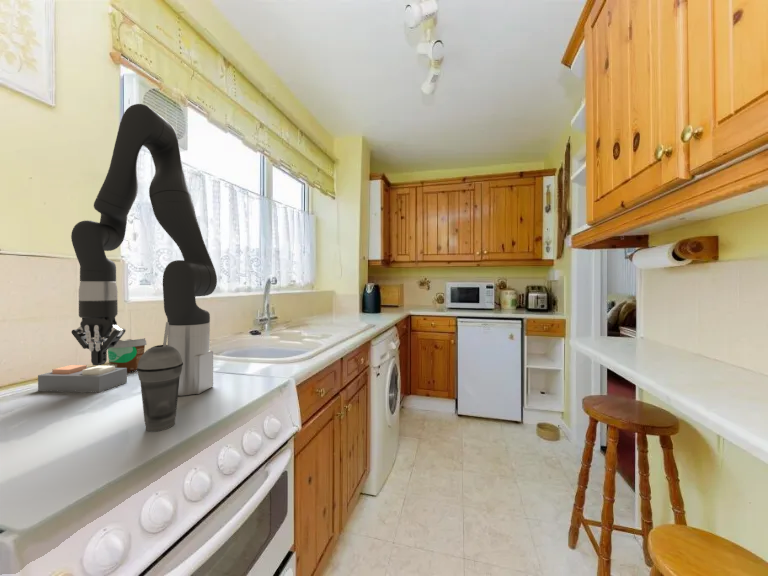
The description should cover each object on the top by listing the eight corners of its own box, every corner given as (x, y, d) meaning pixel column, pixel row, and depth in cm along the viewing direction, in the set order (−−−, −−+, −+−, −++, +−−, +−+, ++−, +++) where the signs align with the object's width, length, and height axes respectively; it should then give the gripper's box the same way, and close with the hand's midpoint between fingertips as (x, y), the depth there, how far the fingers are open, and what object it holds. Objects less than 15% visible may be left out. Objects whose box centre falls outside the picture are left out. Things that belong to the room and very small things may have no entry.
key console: (126, 382, 86) (126, 368, 86) (99, 392, 78) (99, 376, 78) (71, 381, 86) (71, 366, 86) (38, 391, 78) (38, 375, 78)
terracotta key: (86, 378, 84) (86, 365, 84) (69, 383, 80) (69, 369, 80) (70, 377, 84) (70, 364, 84) (52, 382, 80) (52, 369, 80)
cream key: (115, 378, 84) (115, 365, 84) (99, 383, 79) (99, 370, 79) (99, 378, 84) (99, 365, 84) (82, 383, 80) (82, 370, 80)
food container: (93, 372, 95) (93, 340, 94) (113, 367, 101) (114, 336, 101) (127, 375, 92) (127, 341, 92) (146, 369, 99) (146, 338, 98)
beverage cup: (153, 418, 63) (153, 320, 63) (190, 417, 64) (191, 320, 63) (126, 435, 56) (126, 324, 56) (169, 434, 56) (169, 324, 56)
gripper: (135, 298, 85) (135, 361, 85) (88, 298, 85) (88, 361, 85) (110, 299, 77) (110, 368, 78) (58, 299, 78) (59, 368, 78)
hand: (98, 364), depth 81 cm, fingers closed
